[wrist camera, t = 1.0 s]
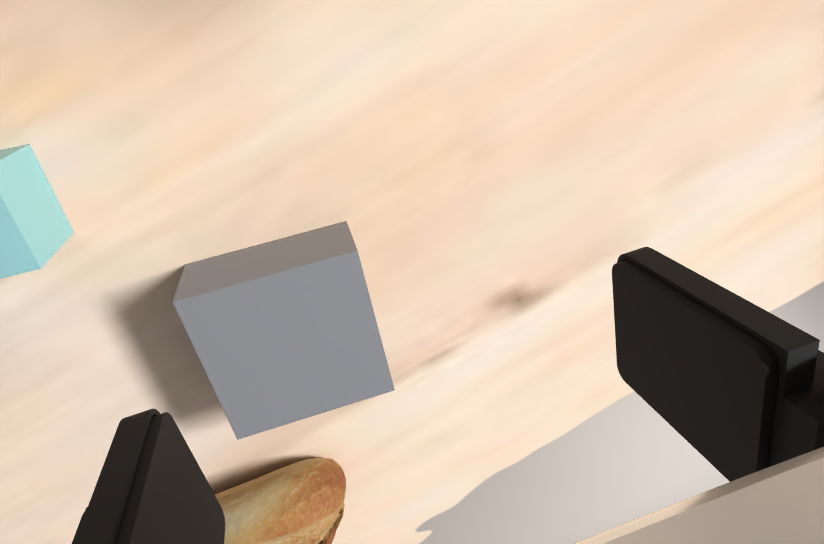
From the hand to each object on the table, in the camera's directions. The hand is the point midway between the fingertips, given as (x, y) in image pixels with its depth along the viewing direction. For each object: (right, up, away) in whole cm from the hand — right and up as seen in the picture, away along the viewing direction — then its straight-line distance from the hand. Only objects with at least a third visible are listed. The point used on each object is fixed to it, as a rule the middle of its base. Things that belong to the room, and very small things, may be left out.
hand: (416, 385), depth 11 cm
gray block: (-10, -1, +31) cm, 33 cm away
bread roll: (-13, -18, +39) cm, 45 cm away
